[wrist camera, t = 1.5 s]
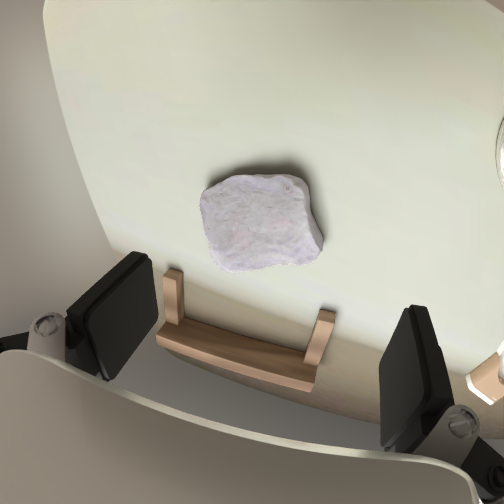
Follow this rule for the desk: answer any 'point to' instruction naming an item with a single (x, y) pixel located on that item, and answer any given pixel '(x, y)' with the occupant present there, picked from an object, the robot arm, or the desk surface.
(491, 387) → the record player
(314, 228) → the stone block
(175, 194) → the desk surface
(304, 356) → the walnut frame
